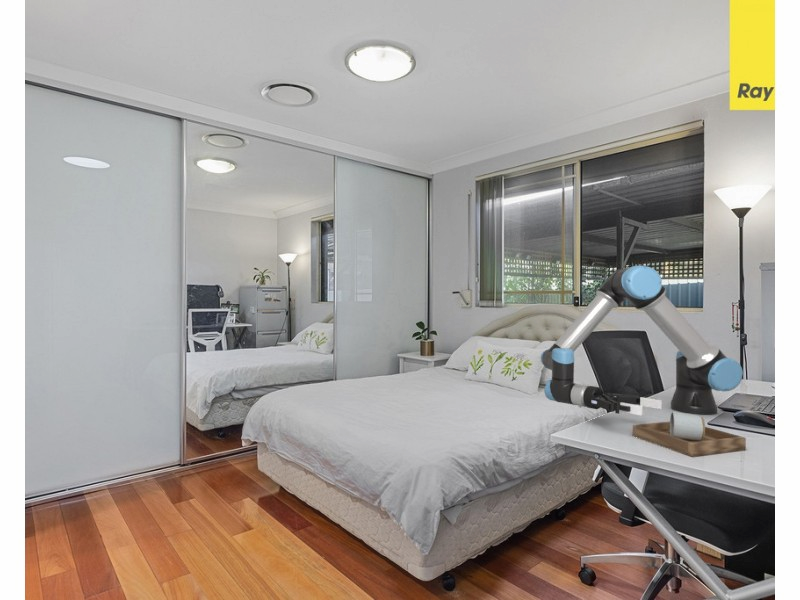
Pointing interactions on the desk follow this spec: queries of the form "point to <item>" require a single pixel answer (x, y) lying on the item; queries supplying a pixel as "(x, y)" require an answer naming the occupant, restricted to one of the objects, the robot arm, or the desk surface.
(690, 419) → the ceramic mug
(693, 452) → the walnut tray
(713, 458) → the desk surface
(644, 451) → the desk surface
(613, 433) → the desk surface
